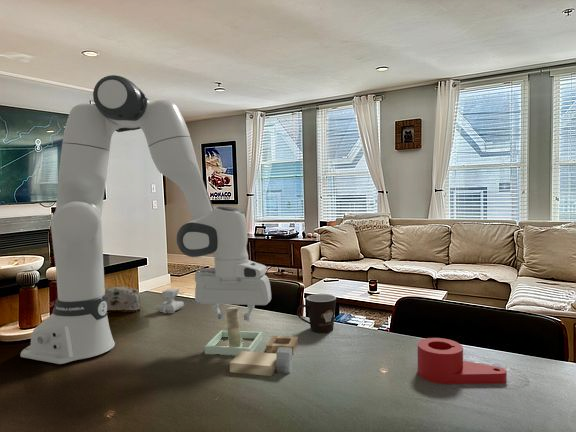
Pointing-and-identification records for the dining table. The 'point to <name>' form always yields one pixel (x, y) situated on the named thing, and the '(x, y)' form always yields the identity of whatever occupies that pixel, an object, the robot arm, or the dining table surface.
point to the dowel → (233, 327)
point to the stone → (122, 298)
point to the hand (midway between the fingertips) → (233, 320)
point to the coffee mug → (320, 312)
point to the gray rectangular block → (284, 359)
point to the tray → (233, 351)
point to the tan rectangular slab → (254, 363)
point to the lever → (453, 365)
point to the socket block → (281, 343)
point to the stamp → (170, 301)
